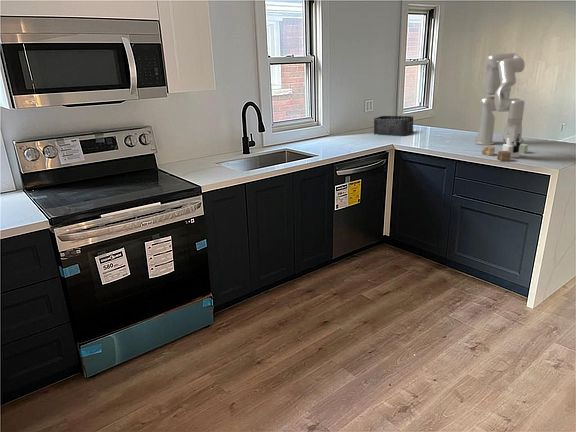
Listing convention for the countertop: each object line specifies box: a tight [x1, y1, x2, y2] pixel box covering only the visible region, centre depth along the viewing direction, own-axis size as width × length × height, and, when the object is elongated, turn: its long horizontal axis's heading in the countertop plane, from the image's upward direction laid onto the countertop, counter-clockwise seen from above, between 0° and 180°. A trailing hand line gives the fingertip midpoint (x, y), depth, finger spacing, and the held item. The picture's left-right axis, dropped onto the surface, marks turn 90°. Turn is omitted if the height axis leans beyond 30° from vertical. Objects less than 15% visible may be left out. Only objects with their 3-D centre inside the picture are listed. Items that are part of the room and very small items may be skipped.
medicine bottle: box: [501, 138, 521, 159], centre depth 253 cm, size 7×7×12 cm
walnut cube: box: [496, 150, 511, 162], centre depth 247 cm, size 5×5×5 cm
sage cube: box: [519, 143, 529, 154], centre depth 263 cm, size 5×5×5 cm
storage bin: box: [373, 115, 414, 137], centre depth 347 cm, size 29×19×13 cm
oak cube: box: [481, 145, 496, 156], centre depth 262 cm, size 5×5×5 cm
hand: (510, 150), depth 254 cm, fingers closed on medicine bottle, 7 cm apart
